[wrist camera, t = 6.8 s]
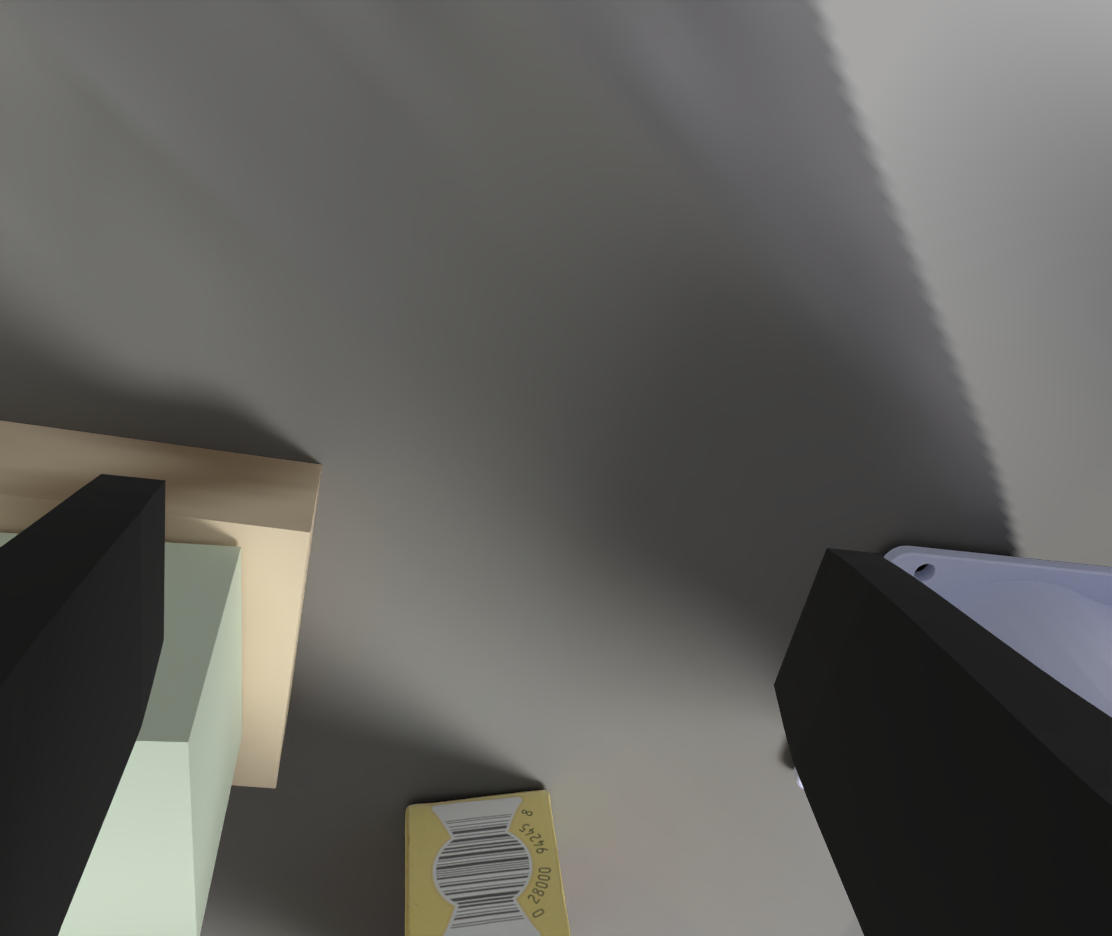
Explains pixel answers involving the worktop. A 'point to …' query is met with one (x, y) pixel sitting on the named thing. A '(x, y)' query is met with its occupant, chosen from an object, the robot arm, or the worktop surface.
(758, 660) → the worktop surface
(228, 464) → the beech block
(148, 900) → the sage cube
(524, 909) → the candy box
